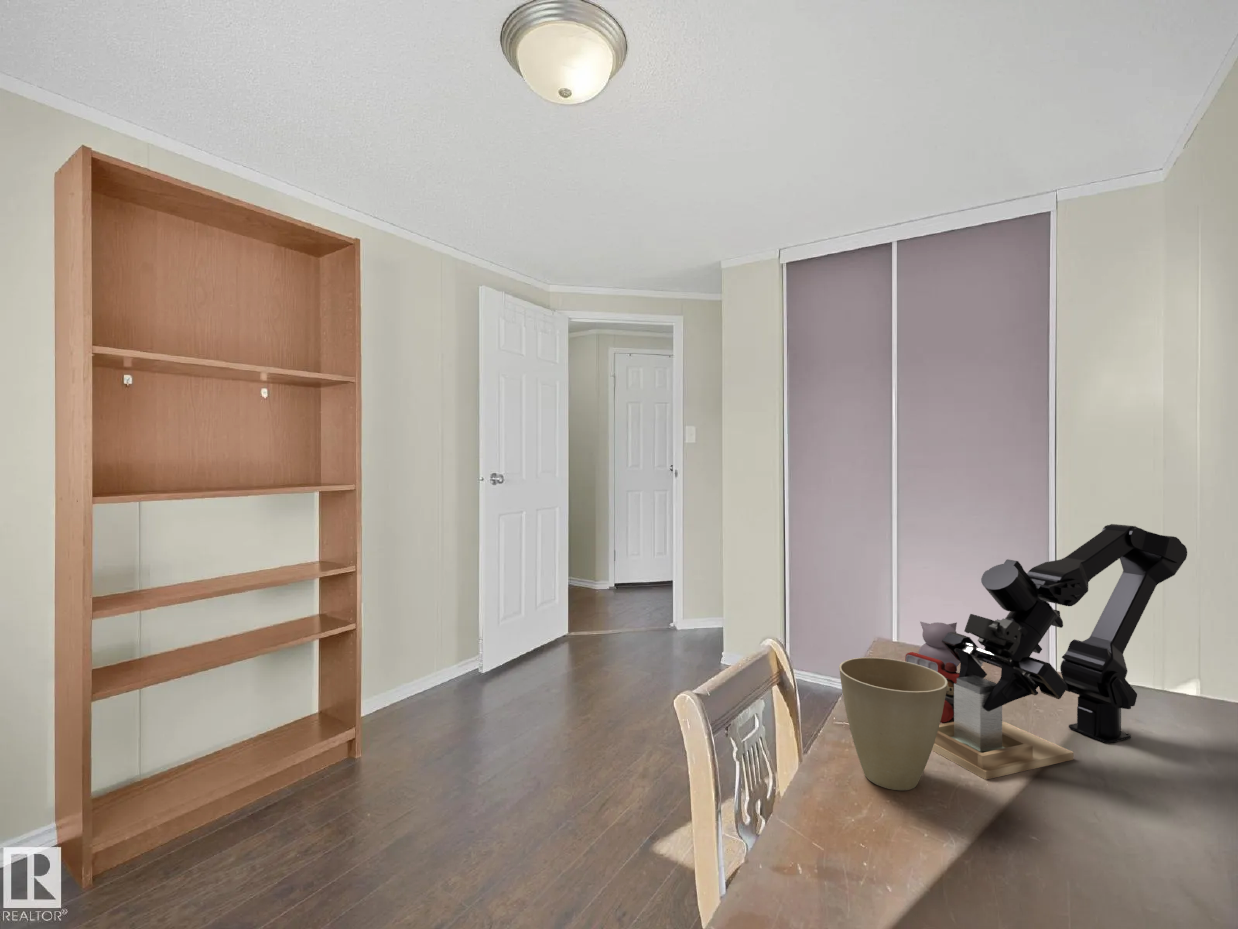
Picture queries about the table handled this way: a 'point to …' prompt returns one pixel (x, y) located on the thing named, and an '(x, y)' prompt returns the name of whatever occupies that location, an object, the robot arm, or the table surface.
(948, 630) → the cat figurine
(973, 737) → the grey lidded container
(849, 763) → the table surface
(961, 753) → the wooden tray
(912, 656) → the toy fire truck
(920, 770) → the plant pot
